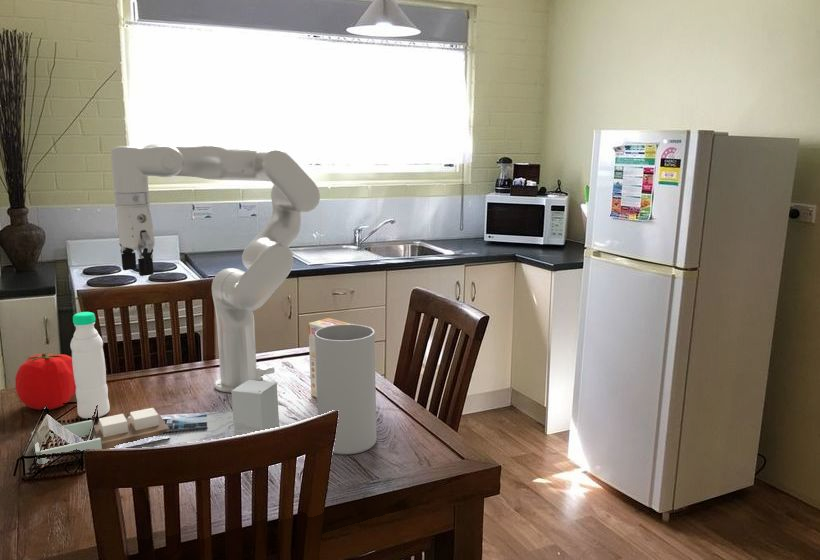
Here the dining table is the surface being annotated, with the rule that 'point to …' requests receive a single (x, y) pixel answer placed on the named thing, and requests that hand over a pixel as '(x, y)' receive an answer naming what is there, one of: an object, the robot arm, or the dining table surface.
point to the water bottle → (89, 367)
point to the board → (130, 434)
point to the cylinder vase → (348, 383)
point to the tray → (79, 430)
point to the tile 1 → (113, 425)
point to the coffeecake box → (312, 329)
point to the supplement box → (255, 406)
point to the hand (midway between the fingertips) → (137, 272)
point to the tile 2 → (144, 418)
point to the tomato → (45, 381)
